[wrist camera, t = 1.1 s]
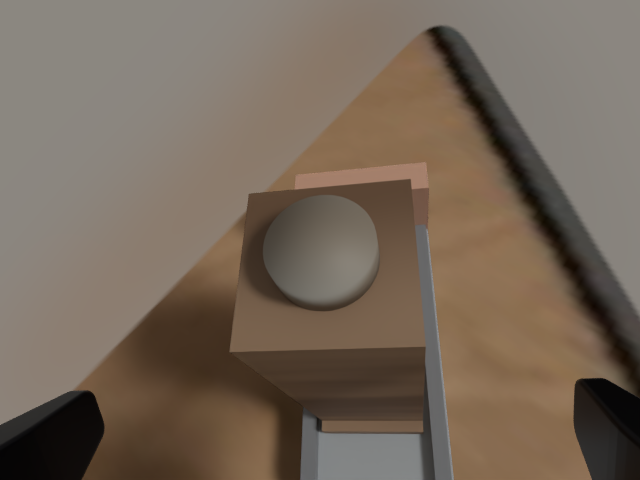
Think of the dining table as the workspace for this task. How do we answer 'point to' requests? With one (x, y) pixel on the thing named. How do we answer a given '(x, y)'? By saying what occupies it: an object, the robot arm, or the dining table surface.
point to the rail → (434, 444)
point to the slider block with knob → (335, 304)
